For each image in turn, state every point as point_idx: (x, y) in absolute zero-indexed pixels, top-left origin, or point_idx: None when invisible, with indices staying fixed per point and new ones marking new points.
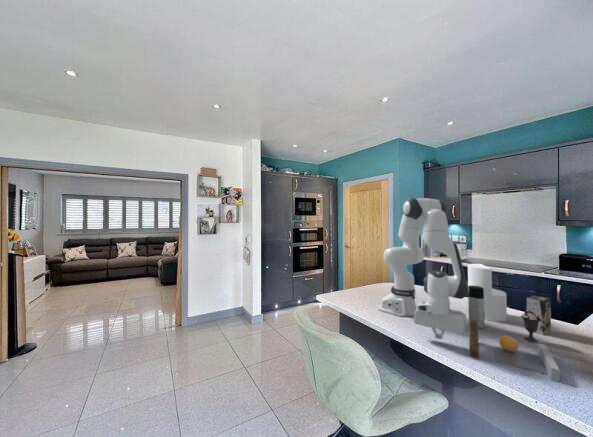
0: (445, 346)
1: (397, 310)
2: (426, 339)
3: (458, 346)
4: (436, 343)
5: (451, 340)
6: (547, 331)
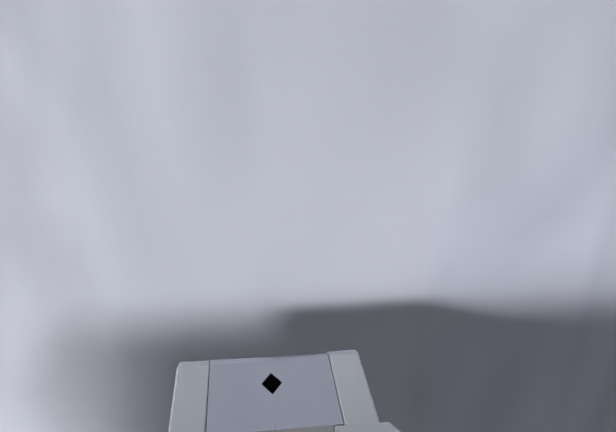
0: None
1: None
2: (12, 370)
3: (611, 299)
4: None
5: (526, 92)
6: None
